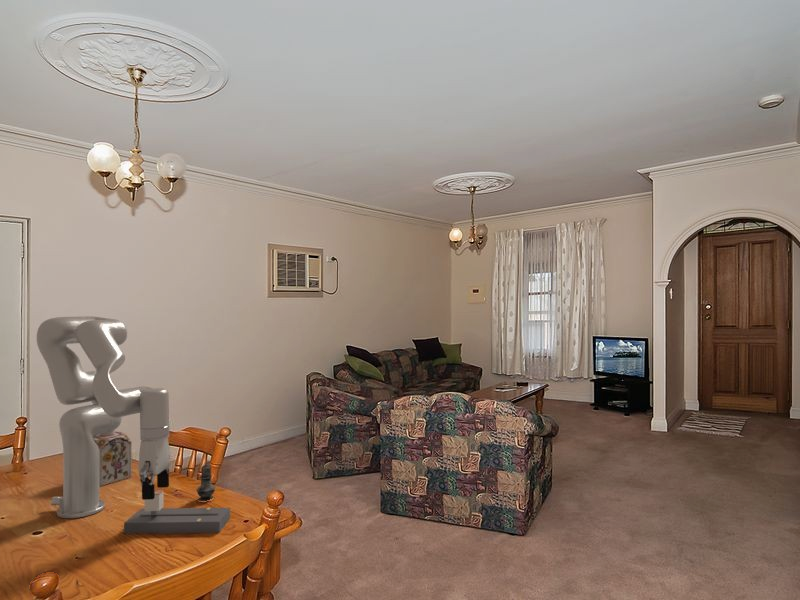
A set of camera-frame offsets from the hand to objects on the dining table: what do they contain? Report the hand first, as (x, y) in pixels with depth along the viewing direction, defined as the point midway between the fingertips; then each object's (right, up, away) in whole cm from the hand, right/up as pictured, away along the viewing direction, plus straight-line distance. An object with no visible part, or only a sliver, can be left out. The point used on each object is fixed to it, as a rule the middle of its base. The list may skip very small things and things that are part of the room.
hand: (156, 492), depth 149 cm
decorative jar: (-36, -10, +40) cm, 55 cm away
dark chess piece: (+7, -10, +20) cm, 24 cm away
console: (+6, -10, 0) cm, 11 cm away
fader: (-1, -6, 0) cm, 6 cm away
